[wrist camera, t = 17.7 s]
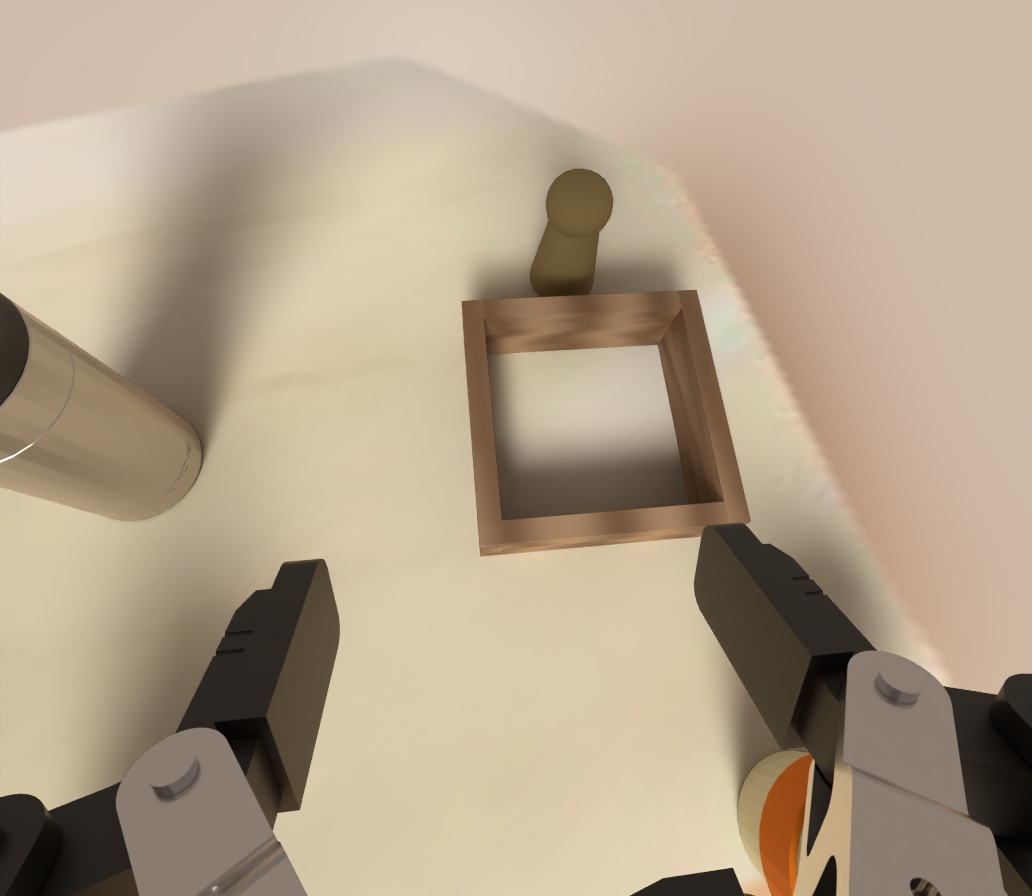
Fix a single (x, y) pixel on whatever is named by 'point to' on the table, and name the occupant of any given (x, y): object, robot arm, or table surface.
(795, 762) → the reusable coffee cup
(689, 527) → the walnut crate
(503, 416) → the table surface
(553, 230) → the olive pawn
